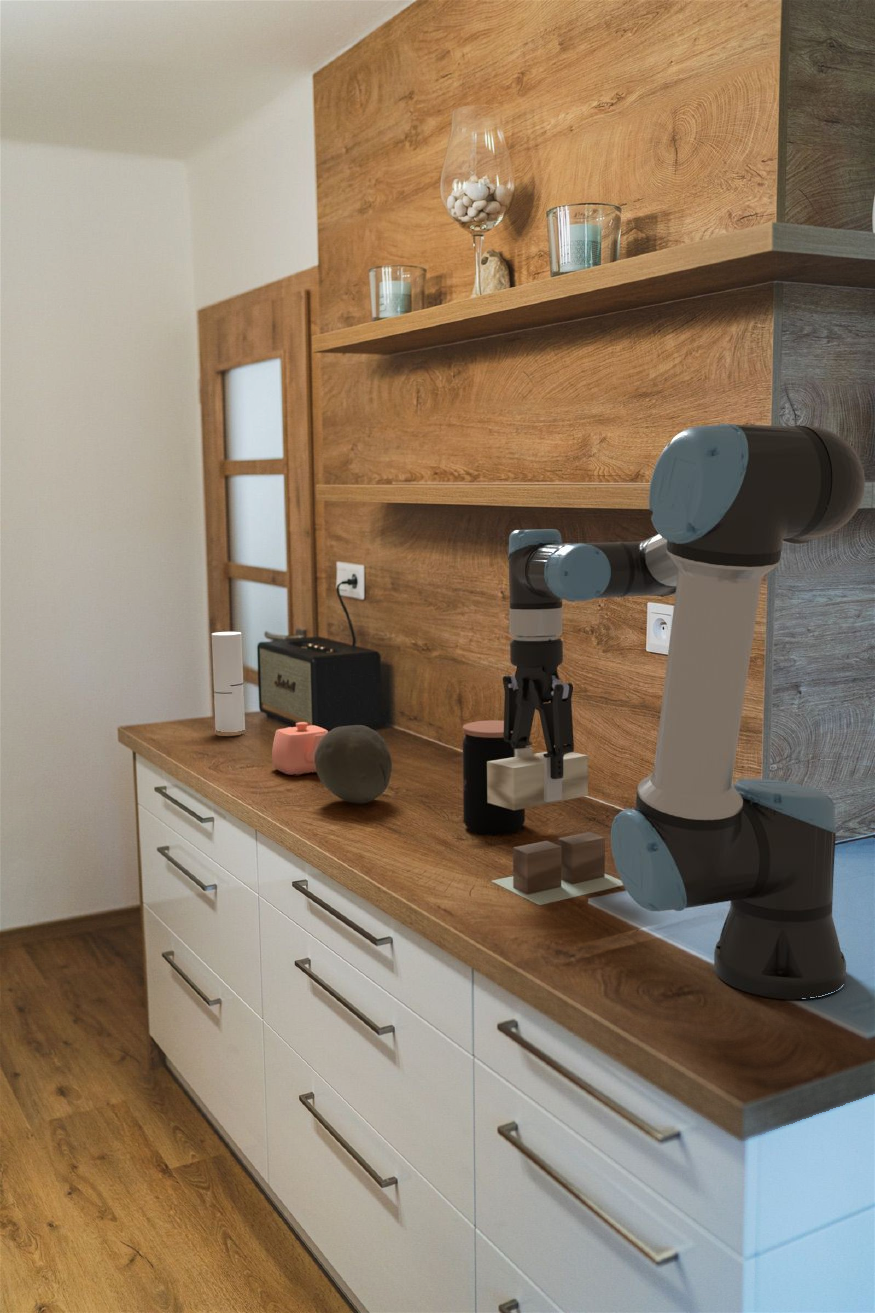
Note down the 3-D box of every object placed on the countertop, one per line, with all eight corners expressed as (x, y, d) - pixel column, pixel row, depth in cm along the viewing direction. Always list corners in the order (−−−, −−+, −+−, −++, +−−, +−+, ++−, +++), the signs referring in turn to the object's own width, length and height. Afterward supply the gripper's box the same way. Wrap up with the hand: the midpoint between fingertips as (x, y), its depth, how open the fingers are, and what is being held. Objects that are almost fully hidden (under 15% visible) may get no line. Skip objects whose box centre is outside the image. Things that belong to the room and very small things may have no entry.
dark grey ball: (379, 790, 226) (377, 716, 224) (401, 808, 213) (400, 729, 211) (309, 798, 221) (306, 721, 219) (327, 816, 208) (325, 735, 206)
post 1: (561, 887, 166) (561, 846, 165) (527, 894, 162) (527, 853, 162) (546, 880, 169) (546, 840, 168) (513, 887, 165) (513, 847, 165)
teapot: (312, 760, 254) (310, 713, 252) (347, 776, 238) (346, 727, 237) (263, 766, 248) (261, 719, 247) (296, 784, 233) (295, 733, 231)
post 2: (604, 877, 170) (604, 837, 169) (572, 884, 167) (572, 844, 166) (589, 870, 173) (590, 832, 172) (557, 877, 170) (557, 838, 169)
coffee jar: (488, 815, 207) (487, 718, 205) (536, 825, 201) (536, 724, 198) (451, 829, 199) (449, 727, 197) (500, 840, 193) (500, 735, 190)
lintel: (587, 795, 168) (587, 755, 168) (514, 810, 160) (513, 768, 160) (560, 788, 173) (560, 749, 173) (487, 802, 165) (487, 761, 165)
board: (628, 891, 167) (628, 883, 167) (539, 913, 159) (539, 905, 158) (577, 869, 177) (577, 862, 177) (491, 888, 169) (491, 880, 169)
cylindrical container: (249, 734, 282) (246, 633, 278) (222, 738, 278) (218, 635, 275) (238, 730, 288) (234, 631, 284) (211, 733, 284) (207, 633, 281)
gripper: (600, 640, 158) (601, 804, 161) (517, 631, 174) (519, 781, 177) (557, 644, 154) (559, 812, 157) (476, 634, 170) (479, 787, 173)
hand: (538, 795), depth 167 cm, fingers closed on lintel, 6 cm apart
